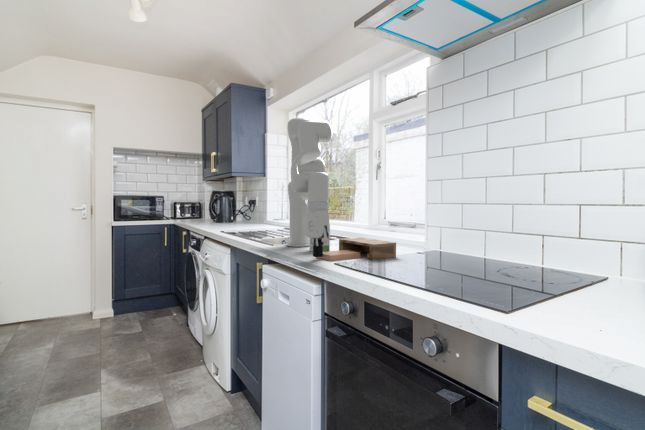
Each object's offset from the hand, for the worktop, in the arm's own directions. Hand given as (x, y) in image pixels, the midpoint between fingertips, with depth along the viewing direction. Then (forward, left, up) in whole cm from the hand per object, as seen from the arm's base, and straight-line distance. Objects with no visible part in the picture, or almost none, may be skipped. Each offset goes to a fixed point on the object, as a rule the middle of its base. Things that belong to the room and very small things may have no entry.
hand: (317, 256), depth 127 cm
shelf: (0, +22, -1) cm, 22 cm away
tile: (0, +9, -2) cm, 9 cm away
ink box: (-19, +13, -1) cm, 23 cm away
